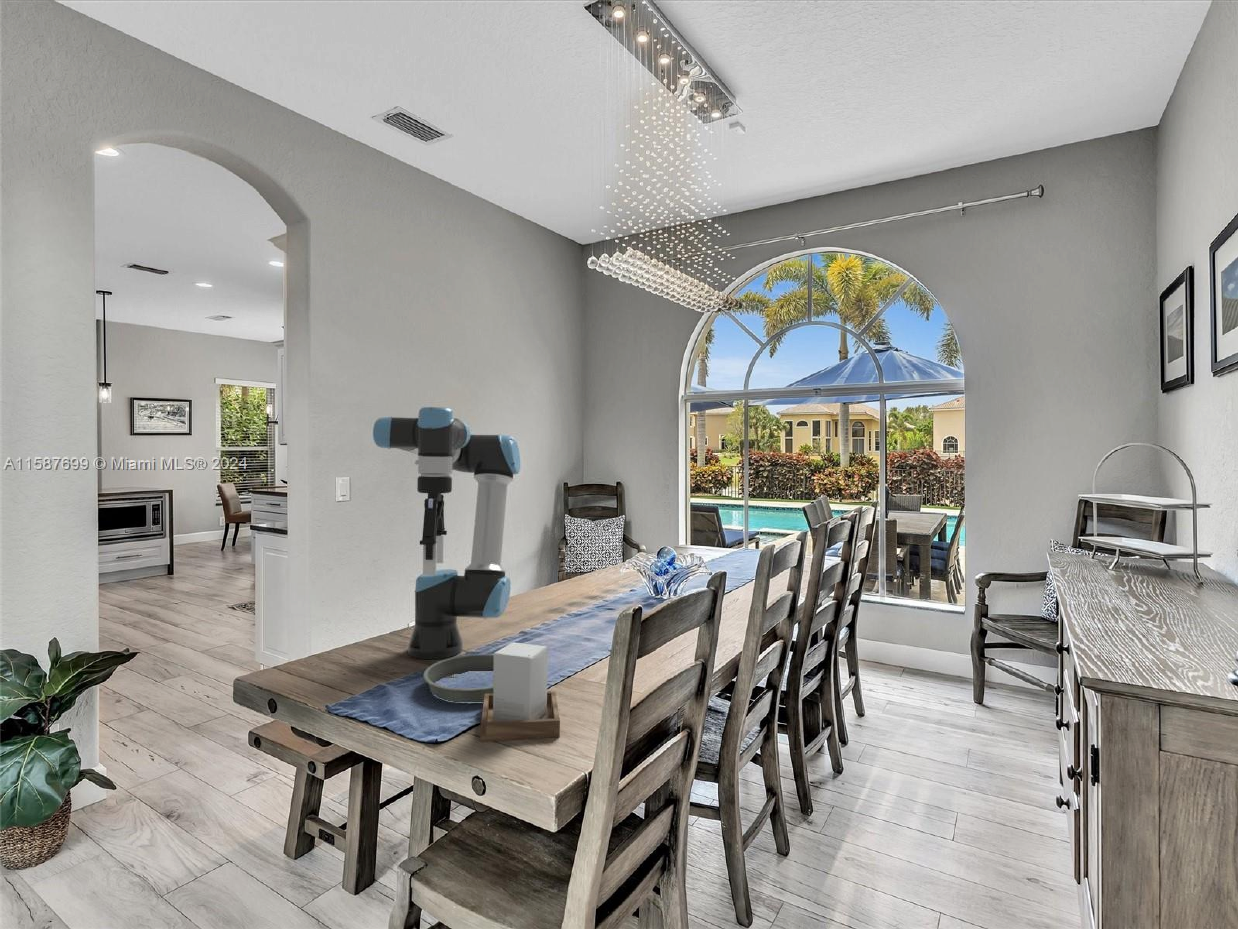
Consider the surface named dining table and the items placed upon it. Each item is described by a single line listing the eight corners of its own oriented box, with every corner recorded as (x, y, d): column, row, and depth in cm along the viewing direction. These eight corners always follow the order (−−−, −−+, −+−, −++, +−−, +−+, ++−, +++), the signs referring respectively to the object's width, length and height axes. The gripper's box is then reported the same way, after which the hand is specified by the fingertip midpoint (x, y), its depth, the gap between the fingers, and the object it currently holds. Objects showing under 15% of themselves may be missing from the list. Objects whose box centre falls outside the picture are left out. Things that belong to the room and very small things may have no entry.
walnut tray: (484, 709, 144) (484, 694, 144) (554, 706, 147) (555, 691, 147) (480, 741, 129) (480, 724, 128) (559, 737, 131) (559, 720, 131)
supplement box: (548, 712, 141) (549, 645, 140) (529, 729, 132) (530, 658, 132) (511, 706, 144) (513, 640, 143) (491, 722, 135) (492, 652, 135)
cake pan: (403, 688, 156) (403, 670, 156) (484, 664, 175) (484, 647, 175) (463, 717, 140) (463, 697, 140) (545, 687, 159) (545, 669, 159)
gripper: (425, 472, 156) (424, 559, 156) (408, 477, 131) (407, 579, 132) (456, 473, 157) (455, 558, 158) (445, 478, 132) (444, 579, 133)
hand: (433, 568), depth 145 cm, fingers open, 13 cm apart
